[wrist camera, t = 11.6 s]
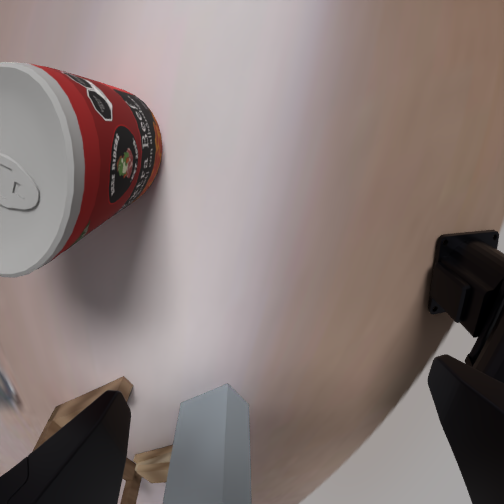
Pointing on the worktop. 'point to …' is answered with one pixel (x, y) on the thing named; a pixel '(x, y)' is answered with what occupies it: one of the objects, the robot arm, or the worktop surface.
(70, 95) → the canned food
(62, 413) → the rack
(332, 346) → the worktop surface
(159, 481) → the offcut stack
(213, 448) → the grey rectangular block
